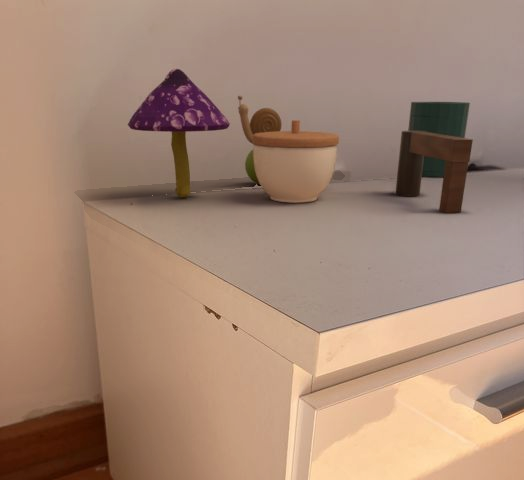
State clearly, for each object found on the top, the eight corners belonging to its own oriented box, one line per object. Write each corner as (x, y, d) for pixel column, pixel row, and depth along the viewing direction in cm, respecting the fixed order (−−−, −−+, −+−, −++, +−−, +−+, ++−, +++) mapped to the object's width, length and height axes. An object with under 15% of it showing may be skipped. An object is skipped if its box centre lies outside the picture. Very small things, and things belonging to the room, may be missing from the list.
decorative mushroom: (182, 186, 82) (176, 70, 75) (250, 196, 75) (250, 69, 68) (113, 198, 73) (100, 68, 66) (183, 211, 66) (175, 66, 59)
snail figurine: (235, 182, 86) (234, 95, 80) (276, 181, 87) (277, 95, 82) (242, 188, 81) (242, 95, 76) (286, 186, 82) (288, 95, 77)
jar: (443, 169, 101) (452, 101, 96) (469, 176, 93) (480, 103, 88) (395, 170, 99) (402, 101, 95) (418, 177, 91) (427, 103, 87)
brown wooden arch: (465, 212, 66) (477, 139, 63) (440, 213, 66) (450, 139, 62) (413, 192, 79) (420, 130, 75) (391, 192, 78) (397, 130, 75)
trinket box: (289, 210, 67) (292, 124, 63) (235, 197, 74) (234, 119, 70) (352, 199, 73) (358, 121, 69) (296, 188, 80) (298, 117, 76)
